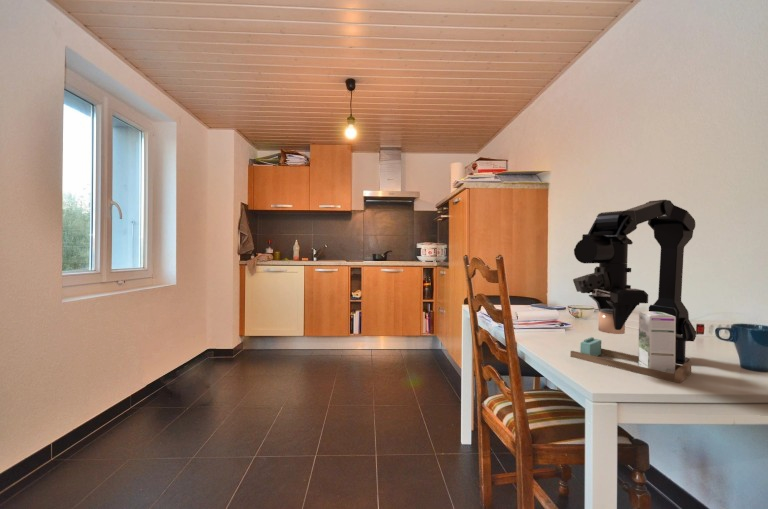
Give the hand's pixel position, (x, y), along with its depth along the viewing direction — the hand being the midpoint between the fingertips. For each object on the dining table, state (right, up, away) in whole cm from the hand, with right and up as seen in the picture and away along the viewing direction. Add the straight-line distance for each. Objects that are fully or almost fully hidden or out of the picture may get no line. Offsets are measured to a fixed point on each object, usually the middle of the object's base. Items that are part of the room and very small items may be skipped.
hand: (611, 327), depth 85 cm
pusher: (+3, -11, +13) cm, 17 cm away
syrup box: (+12, -12, +2) cm, 17 cm away
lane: (+8, -11, +7) cm, 15 cm away
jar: (0, -1, 0) cm, 1 cm away
